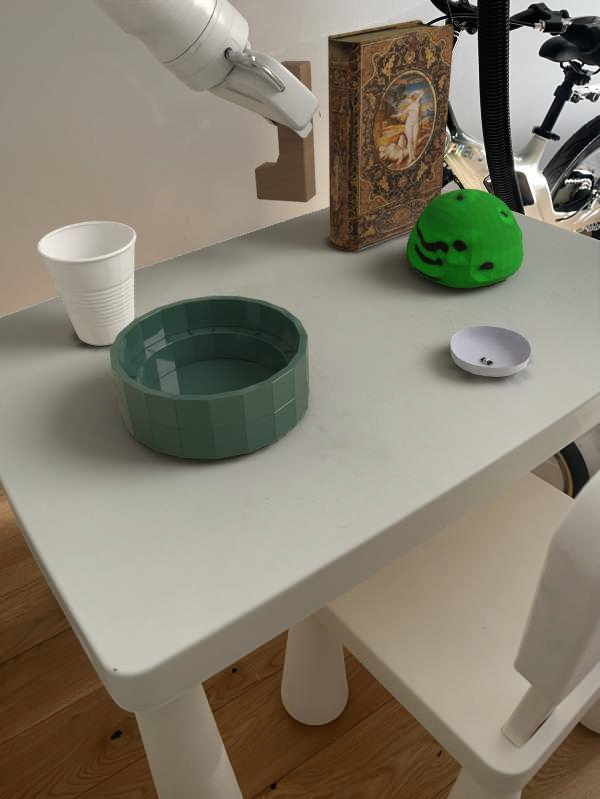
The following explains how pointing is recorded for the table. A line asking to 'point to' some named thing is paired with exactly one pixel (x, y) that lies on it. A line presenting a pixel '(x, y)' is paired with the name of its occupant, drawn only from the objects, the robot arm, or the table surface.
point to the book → (386, 128)
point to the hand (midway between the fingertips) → (292, 125)
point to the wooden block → (290, 157)
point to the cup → (93, 276)
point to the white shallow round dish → (490, 351)
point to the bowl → (211, 376)
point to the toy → (466, 240)
